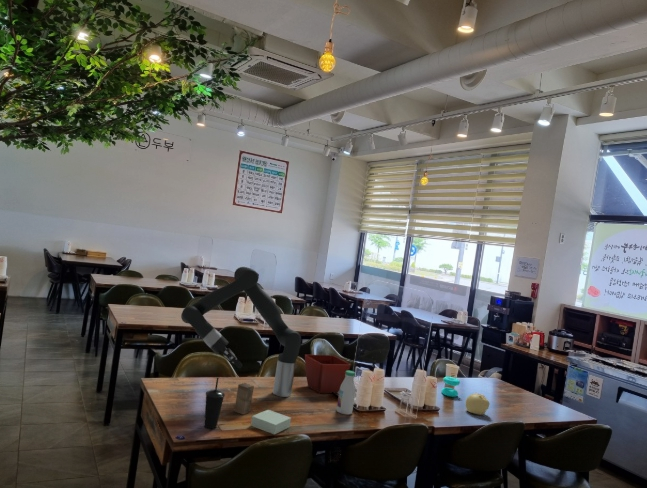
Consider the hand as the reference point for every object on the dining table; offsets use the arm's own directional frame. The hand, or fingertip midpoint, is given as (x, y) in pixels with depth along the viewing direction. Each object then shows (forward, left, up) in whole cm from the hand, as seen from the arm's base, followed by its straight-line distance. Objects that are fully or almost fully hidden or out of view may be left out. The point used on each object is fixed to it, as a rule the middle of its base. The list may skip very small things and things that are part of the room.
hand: (240, 366), depth 228 cm
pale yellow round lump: (-104, +87, -20) cm, 137 cm away
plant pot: (-64, +12, -20) cm, 68 cm away
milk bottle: (-41, +36, -20) cm, 58 cm away
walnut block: (-1, +4, -19) cm, 20 cm away
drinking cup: (+23, +6, -20) cm, 31 cm away
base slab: (+3, +22, -19) cm, 30 cm away
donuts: (-126, +67, -20) cm, 144 cm away
